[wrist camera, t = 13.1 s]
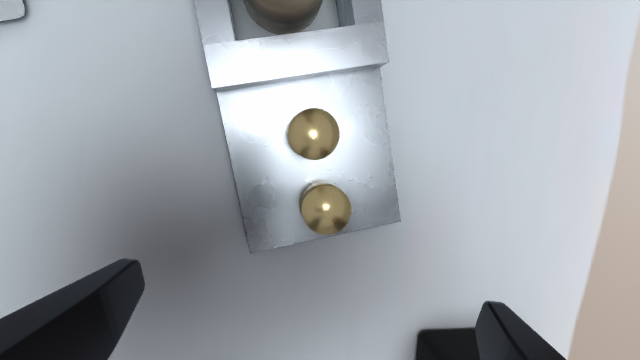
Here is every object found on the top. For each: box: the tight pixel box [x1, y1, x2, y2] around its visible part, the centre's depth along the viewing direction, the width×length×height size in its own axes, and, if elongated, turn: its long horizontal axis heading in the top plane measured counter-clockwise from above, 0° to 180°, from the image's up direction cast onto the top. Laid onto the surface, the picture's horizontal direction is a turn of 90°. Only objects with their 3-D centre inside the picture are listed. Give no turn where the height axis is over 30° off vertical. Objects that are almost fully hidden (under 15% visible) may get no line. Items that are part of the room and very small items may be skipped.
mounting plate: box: [194, 0, 401, 253], centre depth 17 cm, size 9×22×5 cm, turn 10°
